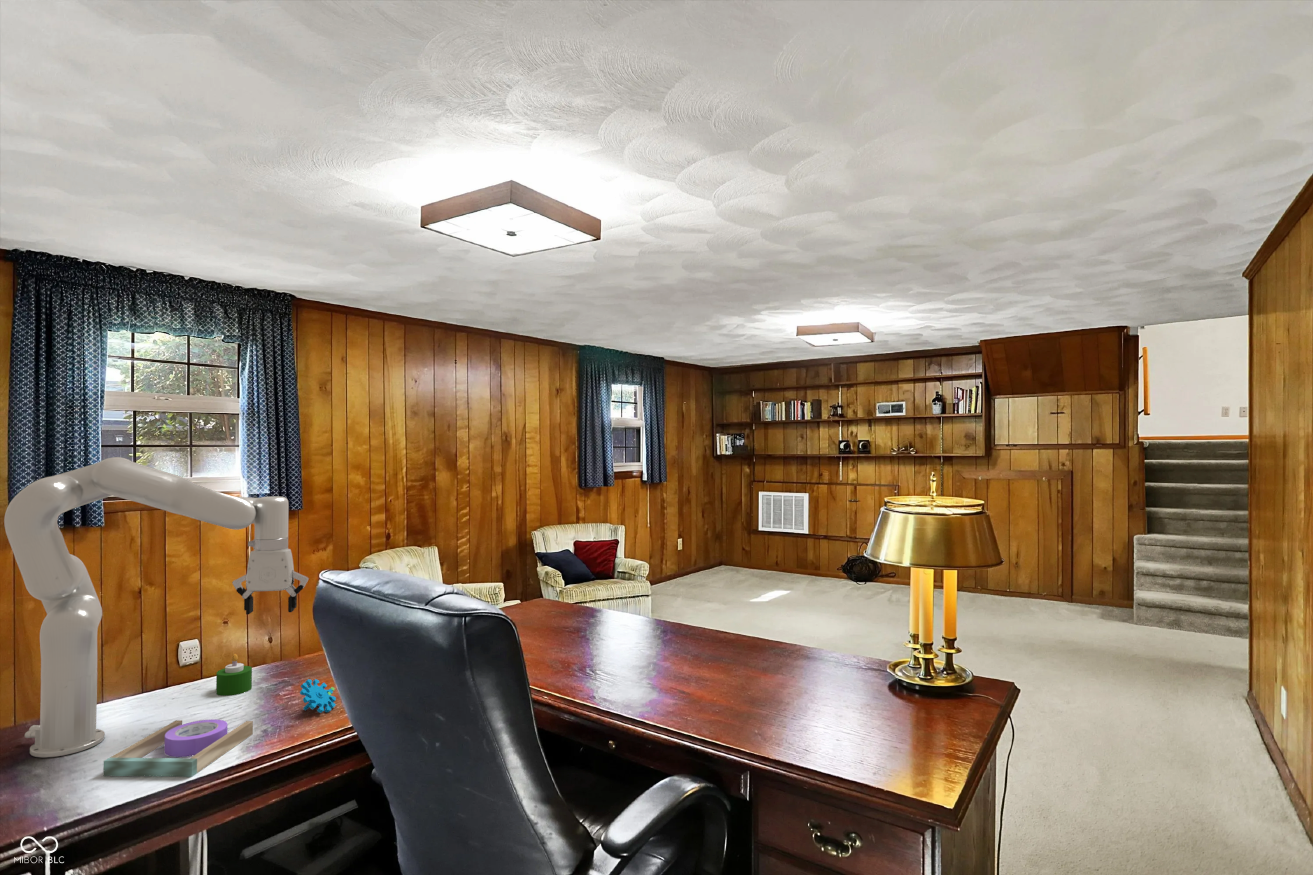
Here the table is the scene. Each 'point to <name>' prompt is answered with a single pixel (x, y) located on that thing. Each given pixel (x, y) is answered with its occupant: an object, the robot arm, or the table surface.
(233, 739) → the bay
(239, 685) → the candle
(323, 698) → the gear
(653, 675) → the table surface
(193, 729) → the masking tape
